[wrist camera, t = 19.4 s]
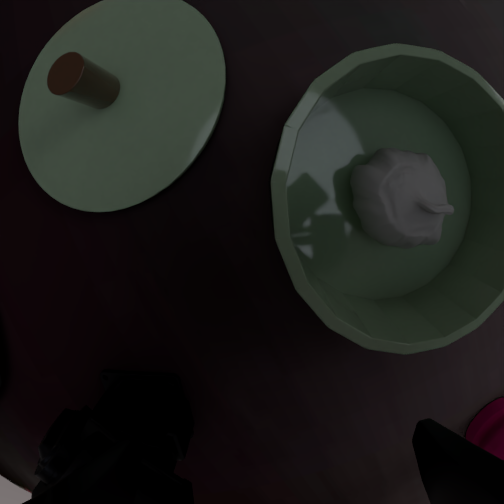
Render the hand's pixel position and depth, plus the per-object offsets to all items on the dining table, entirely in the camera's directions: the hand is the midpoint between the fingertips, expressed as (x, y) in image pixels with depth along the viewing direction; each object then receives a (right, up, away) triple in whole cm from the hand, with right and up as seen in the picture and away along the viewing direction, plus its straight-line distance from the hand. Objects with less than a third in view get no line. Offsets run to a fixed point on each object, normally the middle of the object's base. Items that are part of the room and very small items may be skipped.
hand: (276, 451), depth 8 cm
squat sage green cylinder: (+7, +9, +10) cm, 15 cm away
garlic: (+7, +9, +10) cm, 15 cm away
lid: (-10, +16, +8) cm, 20 cm away
